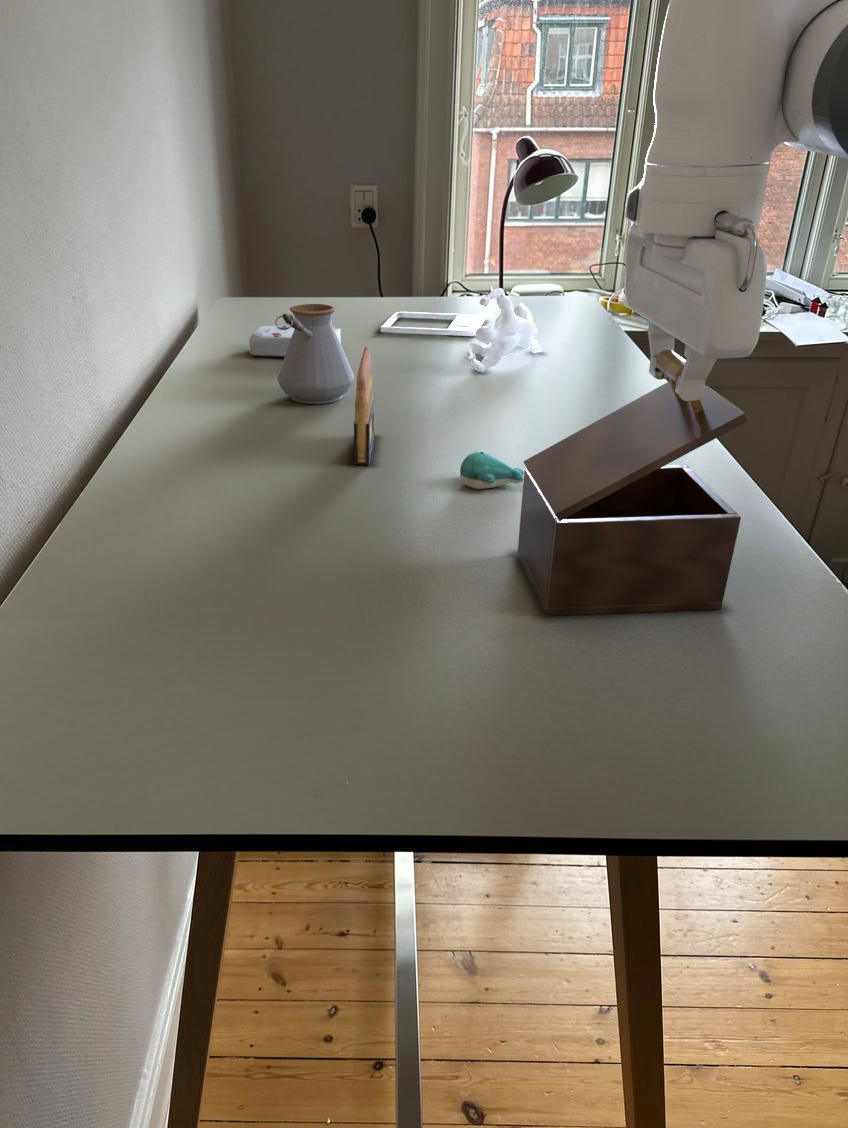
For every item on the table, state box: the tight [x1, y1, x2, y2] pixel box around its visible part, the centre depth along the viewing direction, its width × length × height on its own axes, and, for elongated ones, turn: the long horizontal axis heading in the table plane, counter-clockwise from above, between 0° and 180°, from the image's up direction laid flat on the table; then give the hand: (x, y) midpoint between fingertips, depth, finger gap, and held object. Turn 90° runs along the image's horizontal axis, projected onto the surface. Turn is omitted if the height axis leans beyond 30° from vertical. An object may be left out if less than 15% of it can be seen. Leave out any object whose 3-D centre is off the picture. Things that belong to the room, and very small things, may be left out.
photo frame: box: [380, 311, 486, 337], centre depth 179 cm, size 15×1×18 cm
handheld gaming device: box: [249, 325, 342, 358], centre depth 161 cm, size 9×15×4 cm, turn 80°
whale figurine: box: [459, 450, 524, 490], centre depth 106 cm, size 6×7×4 cm
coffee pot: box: [274, 303, 355, 405], centre depth 130 cm, size 21×12×15 cm, turn 169°
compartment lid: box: [523, 350, 749, 521], centre depth 78 cm, size 16×13×5 cm
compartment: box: [517, 464, 742, 617], centre depth 84 cm, size 16×13×9 cm
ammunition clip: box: [353, 346, 375, 466], centre depth 114 cm, size 11×2×12 cm, turn 176°
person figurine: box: [465, 287, 543, 373], centre depth 151 cm, size 13×13×18 cm
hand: (673, 387), depth 77 cm, fingers closed on compartment lid, 5 cm apart
